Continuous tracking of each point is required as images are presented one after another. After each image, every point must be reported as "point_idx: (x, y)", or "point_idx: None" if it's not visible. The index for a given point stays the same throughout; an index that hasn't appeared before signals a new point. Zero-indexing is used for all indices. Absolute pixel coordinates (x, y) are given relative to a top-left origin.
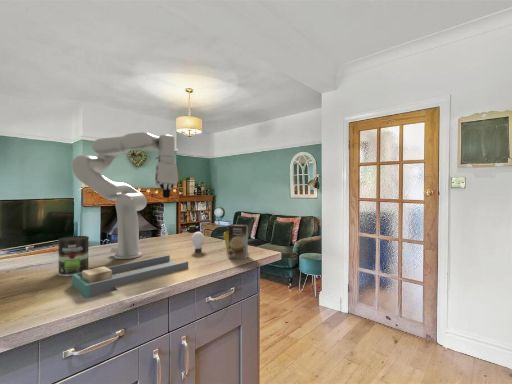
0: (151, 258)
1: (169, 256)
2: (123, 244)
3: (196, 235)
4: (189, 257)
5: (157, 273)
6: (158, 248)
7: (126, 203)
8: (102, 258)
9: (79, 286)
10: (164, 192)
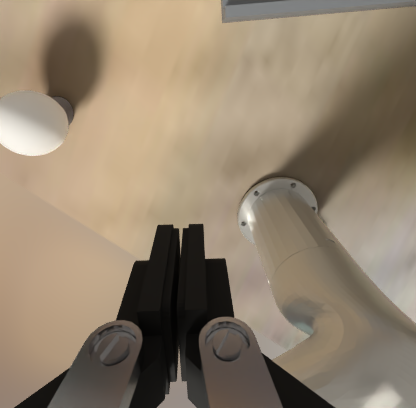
0: (303, 7)
1: (225, 6)
2: (317, 215)
3: (32, 110)
4: (119, 56)
5: None
6: None
7: None
8: (334, 233)
9: None
10: (224, 289)
